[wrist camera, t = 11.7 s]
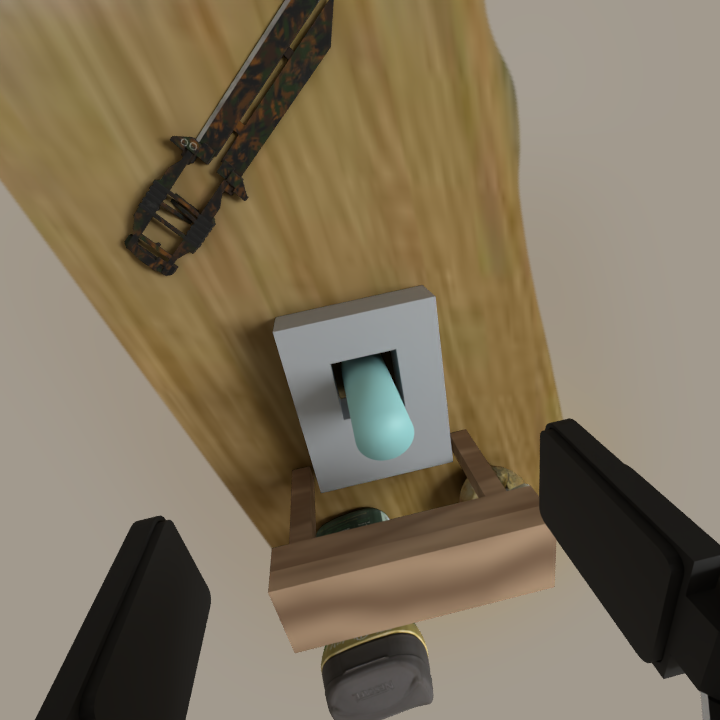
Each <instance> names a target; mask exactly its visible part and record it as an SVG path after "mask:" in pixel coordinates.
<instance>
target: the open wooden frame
mask: <svg viewBox="0 0 720 720" xmlns="http://www.w3.org/2000/svg"><path fill="white" fill-rule="evenodd" d="M450 438H451V448H452V451H453V453H454V455H455V456H456V458H457V460H458V462H459V464H460V465H461V467H462V469H463V471H464V473H465V475H466V476H467V478H468V480H469V482H470V484H471V485H472V487H473V489H474V491H475V493H476V494H477V496H478V498H477V499H472V500H468V501H464V502H460V503H456V504H452V505H448V506H444V507H440V508H435V509H431V510H427V511H423V512H419V513H415V514H411V515H407V516H403V517H398V518H394V519H390V520H386V521H382V522H378V523H374V524H370V525H366V526H362V527H357V528H353V529H349V530H345V531H341V532H337V533H333V534H329V535H325V536H320V537H316V519H315V492H314V478H313V475H312V472H311V468H310V466H309V467H305V468H301V469H296V470H292V489H291V515H290V541H289V544H288V545H283V546H279V547H275V548H272V553H271V566H270V577H269V589H268V593H269V596H270V598H271V600H272V602H273V605H274V607H275V609H276V612H277V614H278V616H279V618H280V621H281V623H282V625H283V627H284V630H285V632H286V634H287V636H288V639H289V641H290V643H291V646H292V648H293V650H294V652H295V653H298V652H302V651H306V650H309V649H314V648H317V647H321V646H325V645H329V644H333V643H337V642H341V641H345V640H349V639H353V638H357V637H361V636H365V635H368V634H372V633H376V632H380V631H384V630H388V629H392V628H396V627H400V626H404V625H408V624H412V623H416V622H419V621H423V620H427V619H431V618H435V617H439V616H443V615H447V614H451V613H455V612H459V611H463V610H466V609H470V608H474V607H478V606H482V605H486V604H490V603H494V602H498V601H502V600H506V599H510V598H514V597H517V596H521V595H525V594H529V593H533V592H537V591H541V590H545V589H548V588H553V587H554V585H555V561H556V538H555V537H554V536H553V534H552V533H551V531H550V530H549V529H548V527H547V526H546V524H545V523H544V521H543V519H542V517H541V514H540V510H539V496H538V495H537V493H536V492H535V491H534V489H533V488H532V487H531V485H530V486H526V487H522V488H518V489H514V490H509V491H506V489H505V488H504V486H503V485H502V483H501V482H500V480H499V479H498V477H497V476H496V474H495V473H494V471H493V470H492V468H491V466H490V465H489V463H488V462H487V460H486V459H485V457H484V456H483V454H482V453H481V451H480V450H479V448H478V447H477V445H476V444H475V442H474V441H473V439H472V438H471V436H470V435H469V433H468V432H467V430H462V431H457V432H453V433H450Z"/></svg>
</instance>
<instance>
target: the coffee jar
mask: <svg viewBox="0 0 720 720" xmlns="http://www.w3.org/2000/svg"><path fill="white" fill-rule="evenodd" d="M386 520H390V519H389V518H388V516H387V515H386V514H385V513H384V512H382V511H380V510H378V509H375V508H366V509H362V510H358V511H355V512H351V513H348V514H346V515H343V516H341V517H338V518H336V519H334V520H332V521H330V522H328V523H326V524H324V525H323V526H322V527H321V528H320V529H319V530H318V532H317V533H316V537H320V536H325V535H329V534H333V533H337V532H341V531H345V530H349V529H353V528H357V527H362V526H366V525H370V524H374V523H378V522H382V521H386ZM321 672H322V677H323V683H324V688H325V696H326V700H327V704H328V708H329V711H330V714H331V715H332V717H333V719H334V720H382V719H385V718H387V717H390V716H393V715H396V714H398V713H401V712H403V711H406V710H409V709H411V708H414V707H418V706H422V705H427V704H430V703H431V702H432V700H433V687H432V678H431V675H430V667H429V661H428V651H427V647H426V644H425V641H424V639H423V636H422V634H421V632H420V631H419V629H418V628H417V626H416V625H415V623H412V624H408V625H404V626H400V627H396V628H392V629H388V630H384V631H380V632H376V633H372V634H368V635H365V636H361V637H357V638H353V639H349V640H345V641H341V642H337V643H333V644H329V645H325V649H324V652H323V656H322V663H321Z"/></svg>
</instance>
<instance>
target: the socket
mask: <svg viewBox="0 0 720 720" xmlns="http://www.w3.org/2000/svg"><path fill="white" fill-rule="evenodd" d="M273 335H274V338H275V341H276V345H277V348H278V351H279V355H280V358H281V361H282V365H283V368H284V371H285V375H286V378H287V381H288V385H289V388H290V391H291V395H292V398H293V401H294V405H295V408H296V411H297V415H298V418H299V421H300V424H301V428H302V431H303V434H304V438H305V441H306V444H307V448H308V451H309V454H310V458H311V461H312V464H313V468H314V471H315V474H316V478H317V481H318V484H319V488H320V491H321V493H324V492H328V491H332V490H336V489H341V488H345V487H349V486H353V485H357V484H362V483H366V482H370V481H374V480H378V479H382V478H387V477H391V476H395V475H399V474H403V473H408V472H412V471H416V470H420V469H424V468H429V467H433V466H437V465H441V464H445V463H449V462H453V457H452V448H451V438H450V429H449V420H448V410H447V401H446V392H445V382H444V373H443V363H442V354H441V345H440V335H439V326H438V317H437V307H436V298H435V296H434V295H433V294H432V293H431V292H430V291H429V290H427V289H426V288H425V287H424V286H423V285H421V286H416V287H412V288H407V289H403V290H398V291H394V292H389V293H385V294H380V295H375V296H371V297H366V298H362V299H357V300H353V301H348V302H344V303H339V304H334V305H330V306H325V307H321V308H316V309H312V310H307V311H303V312H298V313H293V314H289V315H284V316H280V317H276V319H275V323H274V328H273ZM386 351H391V357H392V363H393V369H394V375H395V381H396V386H395V387H396V389H397V391H398V393H399V395H400V398H401V400H402V402H403V404H404V407H405V409H406V411H407V413H408V415H409V418H410V420H411V422H412V424H413V427H414V438H413V441H412V443H411V445H410V447H409V448H408V449H407V450H406V451H405V452H404V453H403V454H401V455H400V456H398V457H396V458H393V459H390V460H384V461H378V460H373V459H370V458H367V457H366V456H364V455H363V454H362V453H361V452H360V451H359V450H358V448H357V446H356V442H355V437H354V433H353V428H352V423H351V418H350V413H349V408H348V403H347V398H343V399H340V397H339V392H338V388H337V384H336V380H335V376H334V372H333V368H332V363H337V362H341V361H346V360H350V359H355V358H359V357H363V356H368V355H372V354H377V353H381V352H386Z"/></svg>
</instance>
